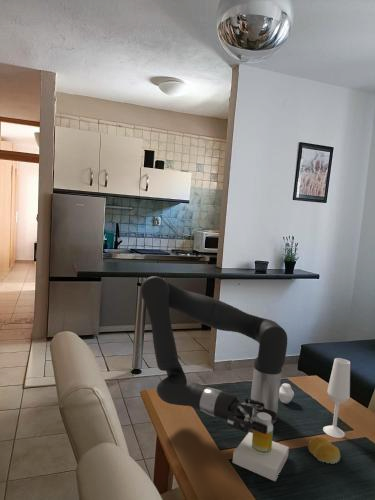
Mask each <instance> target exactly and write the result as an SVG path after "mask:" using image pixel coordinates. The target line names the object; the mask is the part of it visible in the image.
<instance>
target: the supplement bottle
mask: <svg viewBox="0 0 375 500" xmlns="http://www.w3.org/2000/svg"><path fill="white" fill-rule="evenodd" d="M256 421H257V422H260V423H262V424H265V425H267V426H268V428H267V433H266V434H263V433H261V432H258V431H255V430H252V433H253V437H252V449H253V450H254V451H255V452H256V453H258V454H261V455H267V454H269V453H270V452H271V447H272V441H273V436H274V424H271V416H270V415H269V414H267V413H263V412H260V413H258V414H257V420H256Z"/></svg>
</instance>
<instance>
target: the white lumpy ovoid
mask: <svg viewBox="0 0 375 500" xmlns="http://www.w3.org/2000/svg"><path fill="white" fill-rule="evenodd" d="M294 396H295V392H294V390H293V389H292V386H291V385H290V384H289V383H287V382H285V383H282V384H281V385H280V390H279V400H280V402H281V403H282V404H289V403H290V402H291V400H292V399H293V397H294Z"/></svg>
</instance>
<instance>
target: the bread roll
mask: <svg viewBox="0 0 375 500" xmlns="http://www.w3.org/2000/svg"><path fill="white" fill-rule="evenodd" d="M307 447H308V451H309V453H311V455H312V454H313V455H312V456H314V457H315V458H317V459H316V460H318V461H319V462H321V461H322V462H321V463H324V462H326V463H325V464H329V463H330V465H334V464H335V463H336V464H337V463H339V462H340V459H341V451H340V449H339V448H338V447H337V446H335V445H333V444H332V443H331V441H330V440H328V439H327V438H325V437H323V436H321V437H320V436H318V437H314V438H313V439H310V440H309V441H308V444H307Z"/></svg>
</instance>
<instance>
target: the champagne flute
mask: <svg viewBox="0 0 375 500" xmlns="http://www.w3.org/2000/svg"><path fill="white" fill-rule="evenodd" d="M331 368H332V369H331V374H330V378H329V382H328V386H327V395H328V397H329V398H330V399H331V400H332V401H333V403H334V412H333V417H332V419H333V420H332V425H326V426H323V428H322V430H323V432H324V433H325V434H327V435H328V436H330V437H333V438H337V439H340V438H341V439H342V438H344V437H345V436H346V433H345V432H344V431H343V430H342V429H340V428H339V427H338V426H337V425H338V416H339V408H340V404H341V405H342V404H343V403H345V402H347V401H348V400H349V398H351V397H350V396H351V391H350V390H351V361H350V360H348V359H345V358H341V357H336V358H334V360H333V365H332V367H331Z"/></svg>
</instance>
